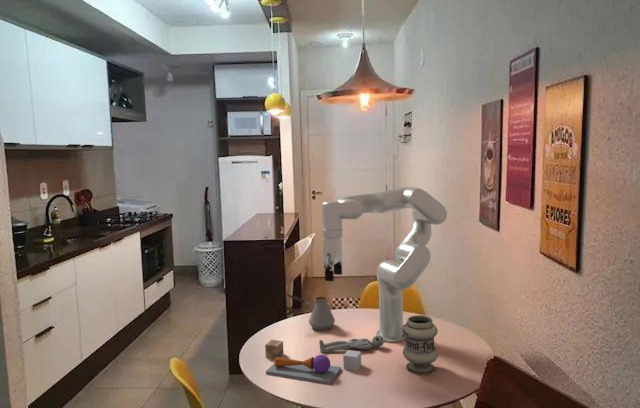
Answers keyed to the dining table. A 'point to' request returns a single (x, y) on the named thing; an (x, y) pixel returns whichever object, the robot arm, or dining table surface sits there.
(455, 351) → the dining table surface
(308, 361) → the kendama
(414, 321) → the apothecary jar
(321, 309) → the coffee pot
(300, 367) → the charcoal mat
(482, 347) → the dining table surface
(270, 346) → the walnut block
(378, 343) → the alien figure
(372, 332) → the dining table surface
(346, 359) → the grey block
